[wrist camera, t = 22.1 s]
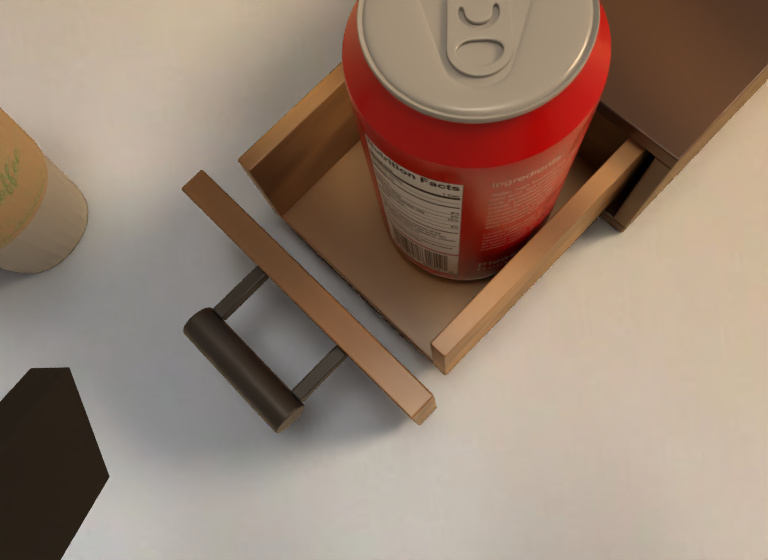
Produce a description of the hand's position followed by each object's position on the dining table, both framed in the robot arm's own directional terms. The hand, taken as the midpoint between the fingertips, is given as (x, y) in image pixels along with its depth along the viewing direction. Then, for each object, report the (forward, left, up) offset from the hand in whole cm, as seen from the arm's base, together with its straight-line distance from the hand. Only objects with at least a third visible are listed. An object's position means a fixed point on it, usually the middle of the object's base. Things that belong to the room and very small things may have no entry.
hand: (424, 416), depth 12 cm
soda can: (+7, -9, -18) cm, 21 cm away
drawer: (+8, -5, -19) cm, 21 cm away
